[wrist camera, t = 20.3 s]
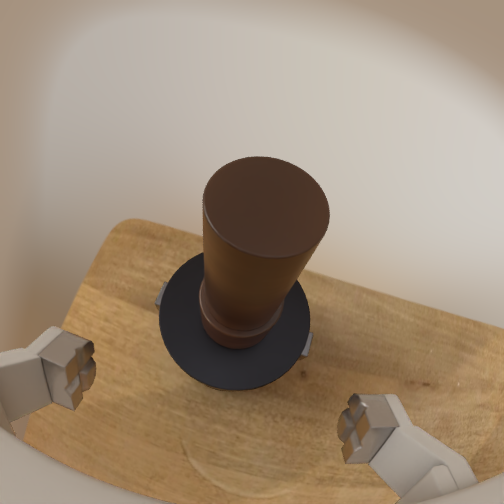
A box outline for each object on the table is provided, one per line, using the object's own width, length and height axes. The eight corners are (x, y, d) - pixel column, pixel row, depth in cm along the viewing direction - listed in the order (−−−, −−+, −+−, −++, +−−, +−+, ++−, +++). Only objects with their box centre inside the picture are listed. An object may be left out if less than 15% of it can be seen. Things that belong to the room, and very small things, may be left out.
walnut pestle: (190, 334, 16) (163, 237, 7) (215, 272, 18) (223, 135, 9) (260, 359, 15) (327, 292, 7) (280, 294, 17) (347, 175, 9)
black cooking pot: (154, 369, 22) (125, 351, 15) (191, 279, 26) (185, 225, 19) (269, 409, 22) (298, 412, 14) (297, 315, 26) (332, 275, 18)
